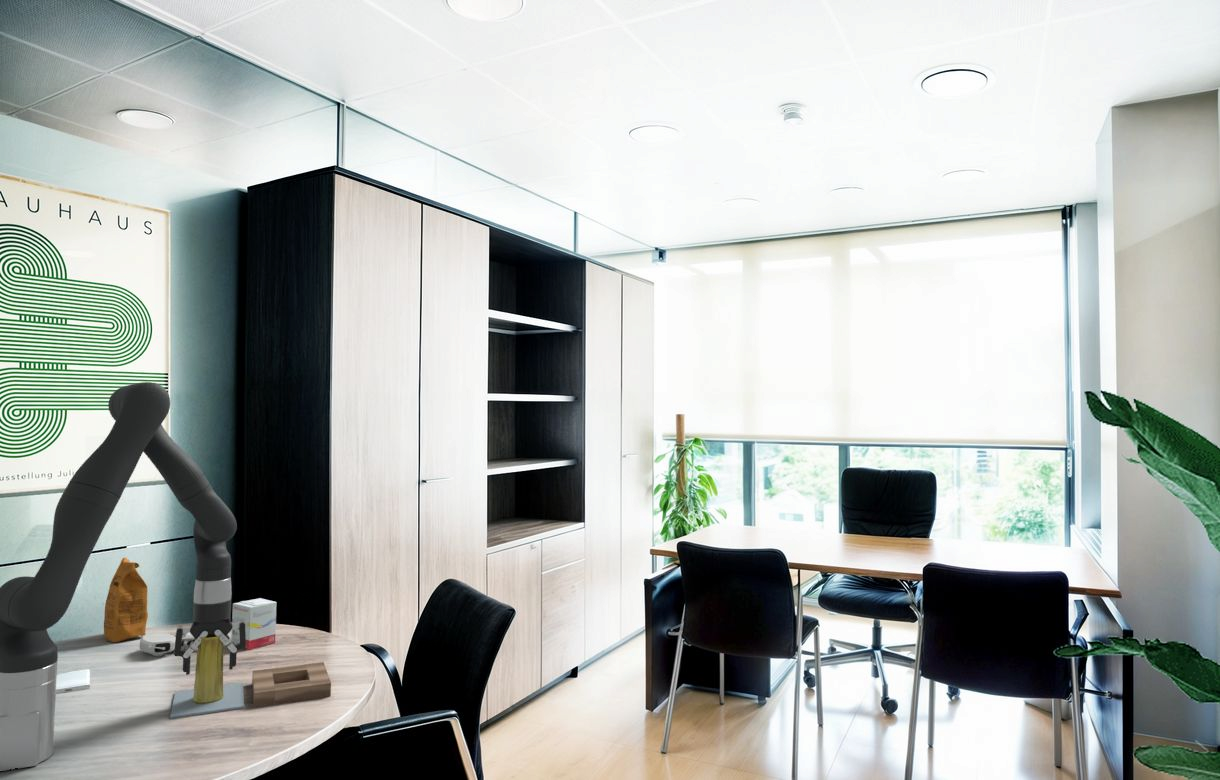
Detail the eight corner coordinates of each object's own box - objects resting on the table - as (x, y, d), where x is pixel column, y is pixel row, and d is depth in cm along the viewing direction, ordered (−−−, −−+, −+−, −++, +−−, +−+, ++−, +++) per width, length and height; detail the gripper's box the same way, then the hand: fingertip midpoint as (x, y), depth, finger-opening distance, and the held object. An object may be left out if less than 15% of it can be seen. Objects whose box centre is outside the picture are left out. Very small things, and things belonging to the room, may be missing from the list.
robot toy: (195, 644, 212) (133, 650, 201) (197, 627, 212) (136, 633, 202) (207, 654, 203) (143, 661, 192) (209, 637, 203) (146, 643, 193)
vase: (216, 691, 172) (219, 629, 172) (228, 698, 168) (230, 634, 168) (188, 698, 167) (190, 634, 168) (199, 705, 163) (202, 640, 164)
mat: (243, 708, 163) (243, 706, 163) (169, 718, 157) (170, 716, 157) (242, 684, 178) (242, 682, 178) (175, 693, 171) (175, 691, 171)
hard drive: (48, 674, 179) (46, 690, 169) (90, 668, 184) (90, 683, 174) (48, 681, 179) (46, 697, 169) (90, 675, 184) (89, 690, 174)
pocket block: (330, 695, 172) (331, 682, 172) (253, 706, 164) (254, 693, 164) (323, 674, 186) (323, 662, 186) (252, 683, 179) (252, 670, 179)
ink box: (276, 643, 211) (277, 600, 211) (248, 650, 203) (249, 606, 204) (258, 637, 215) (259, 596, 216) (229, 645, 208) (231, 602, 208)
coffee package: (139, 629, 222) (142, 554, 223) (149, 638, 213) (152, 560, 214) (99, 635, 215) (102, 558, 216) (108, 645, 206) (111, 565, 207)
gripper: (175, 605, 162) (172, 681, 161) (247, 599, 168) (245, 671, 168) (177, 597, 168) (174, 670, 168) (247, 592, 175) (244, 662, 174)
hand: (209, 671), depth 168 cm, fingers open, 8 cm apart
